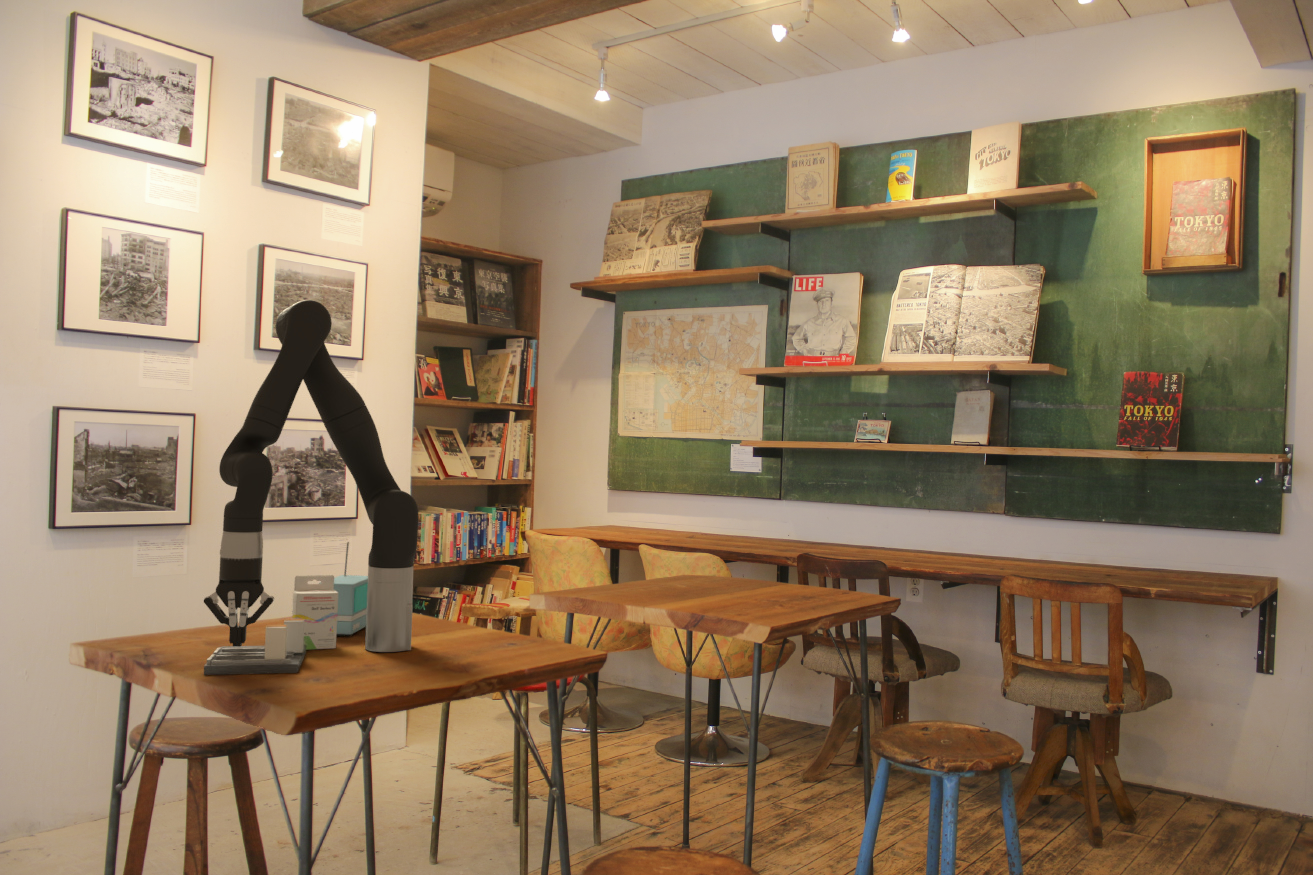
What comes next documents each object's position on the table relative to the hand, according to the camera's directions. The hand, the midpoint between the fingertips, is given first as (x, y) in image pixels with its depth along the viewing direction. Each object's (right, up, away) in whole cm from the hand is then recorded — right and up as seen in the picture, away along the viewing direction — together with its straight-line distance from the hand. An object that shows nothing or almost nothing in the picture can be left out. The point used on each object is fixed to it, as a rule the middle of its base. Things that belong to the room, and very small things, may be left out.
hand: (237, 645), depth 193 cm
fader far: (+10, -2, +3) cm, 10 cm away
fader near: (+9, -1, -5) cm, 10 cm away
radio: (+10, -5, +37) cm, 38 cm away
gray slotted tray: (+4, -3, 0) cm, 5 cm away
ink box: (+9, -4, +17) cm, 20 cm away
